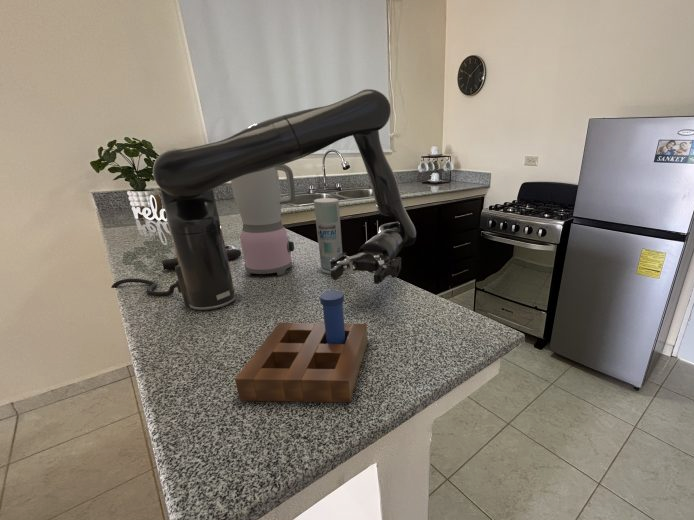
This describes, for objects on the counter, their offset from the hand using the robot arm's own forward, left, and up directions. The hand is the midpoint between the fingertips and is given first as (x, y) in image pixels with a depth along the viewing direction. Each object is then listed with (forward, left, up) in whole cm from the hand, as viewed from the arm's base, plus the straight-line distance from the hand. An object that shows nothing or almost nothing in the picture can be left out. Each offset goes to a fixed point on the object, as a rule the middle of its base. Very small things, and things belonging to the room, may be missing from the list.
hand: (354, 277), depth 67 cm
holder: (-5, -14, -11) cm, 18 cm away
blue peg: (-2, -10, -11) cm, 15 cm away
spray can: (-13, +32, -11) cm, 37 cm away
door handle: (-55, +39, -11) cm, 68 cm away
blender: (-29, +31, -11) cm, 44 cm away
